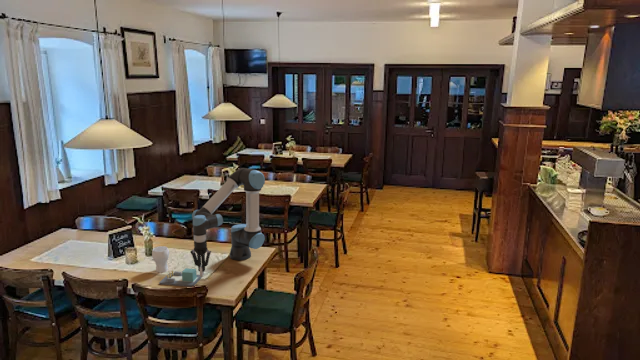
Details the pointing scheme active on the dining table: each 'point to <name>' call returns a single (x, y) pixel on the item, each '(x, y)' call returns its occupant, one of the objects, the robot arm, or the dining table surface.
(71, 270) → the dining table surface
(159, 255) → the cup
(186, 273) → the plug block
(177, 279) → the header board
